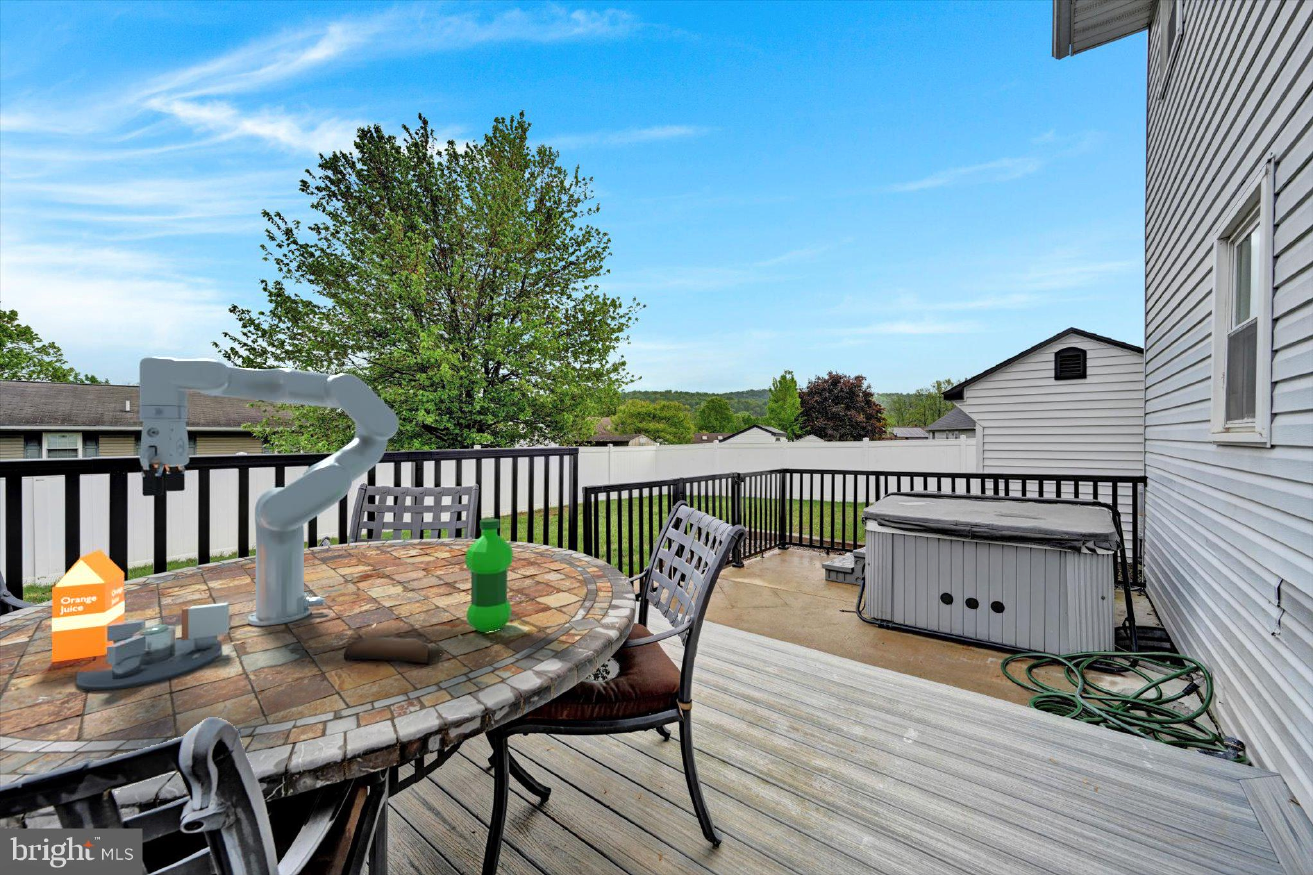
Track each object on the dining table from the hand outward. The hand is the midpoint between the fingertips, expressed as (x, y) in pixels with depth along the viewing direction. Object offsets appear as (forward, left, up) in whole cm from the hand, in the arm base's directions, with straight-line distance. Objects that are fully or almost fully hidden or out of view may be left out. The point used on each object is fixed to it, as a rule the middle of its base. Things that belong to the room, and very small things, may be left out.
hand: (164, 493), depth 113 cm
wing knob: (-11, +14, -30) cm, 35 cm away
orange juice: (+11, +1, -32) cm, 34 cm away
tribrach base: (-4, +16, -32) cm, 36 cm away
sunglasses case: (-46, +31, -33) cm, 64 cm away
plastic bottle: (-65, +24, -32) cm, 76 cm away
